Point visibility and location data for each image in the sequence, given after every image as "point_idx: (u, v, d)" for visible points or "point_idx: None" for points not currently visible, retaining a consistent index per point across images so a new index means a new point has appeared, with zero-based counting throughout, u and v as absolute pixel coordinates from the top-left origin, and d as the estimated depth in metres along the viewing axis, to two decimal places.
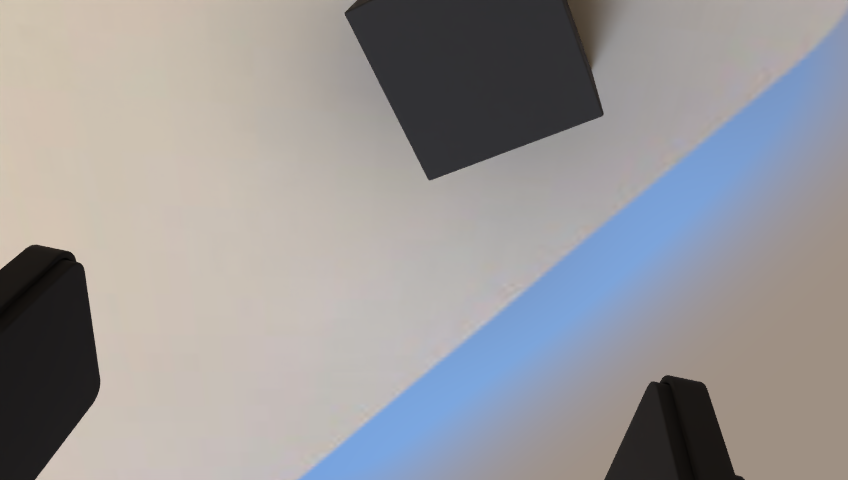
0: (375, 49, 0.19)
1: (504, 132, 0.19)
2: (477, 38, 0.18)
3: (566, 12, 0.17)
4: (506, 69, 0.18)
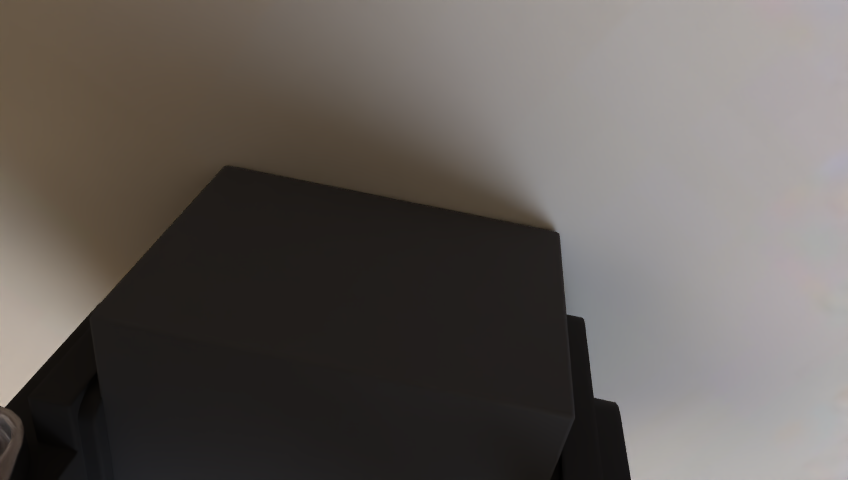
0: None
1: None
2: None
3: (300, 358, 0.07)
4: None
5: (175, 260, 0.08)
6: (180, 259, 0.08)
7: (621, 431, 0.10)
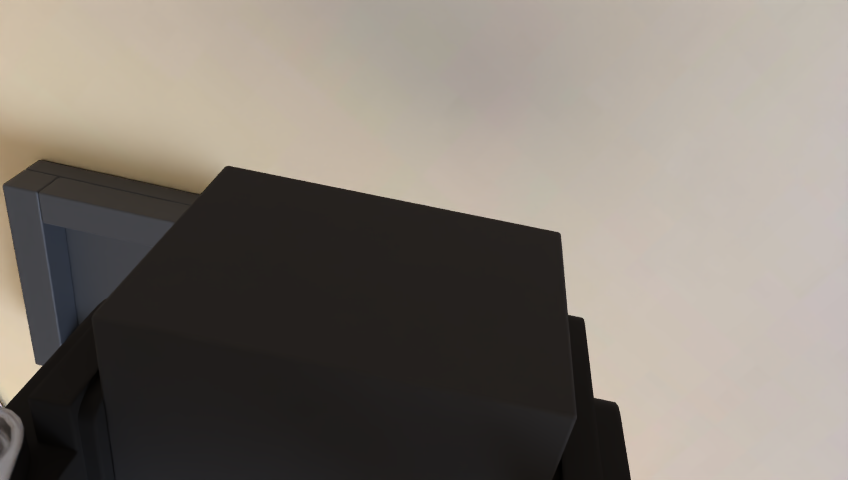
0: None
1: None
2: None
3: (302, 358, 0.07)
4: None
5: (177, 260, 0.08)
6: (182, 260, 0.08)
7: (620, 431, 0.10)
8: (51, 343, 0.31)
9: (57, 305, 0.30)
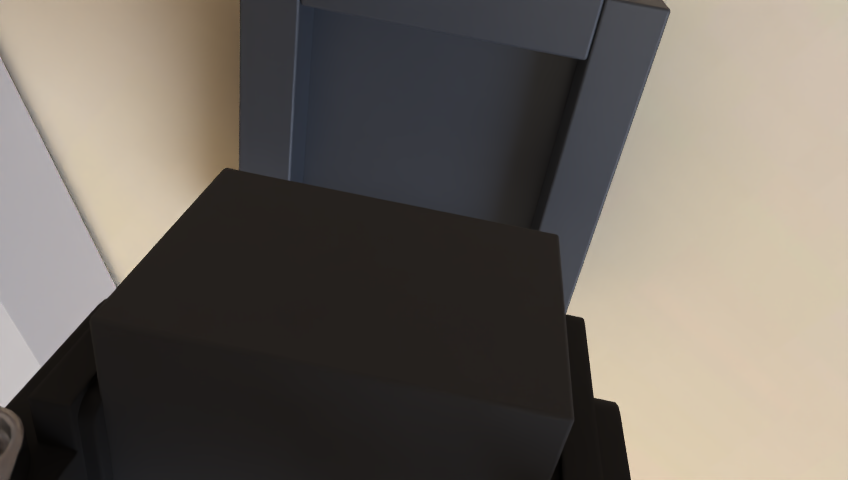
0: None
1: None
2: None
3: (299, 361, 0.07)
4: None
5: (175, 263, 0.08)
6: (180, 262, 0.08)
7: (620, 431, 0.10)
8: None
9: (292, 170, 0.19)
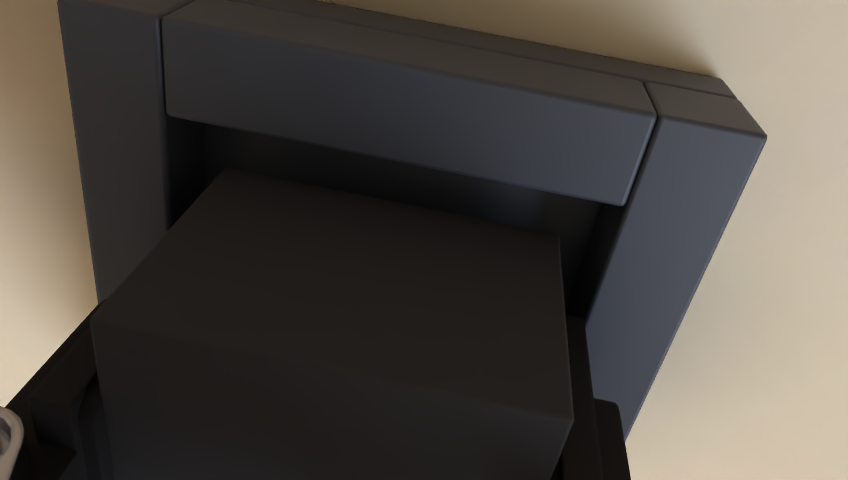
0: None
1: None
2: None
3: (300, 361, 0.07)
4: None
5: (175, 263, 0.08)
6: (180, 262, 0.08)
7: (620, 431, 0.10)
8: None
9: None
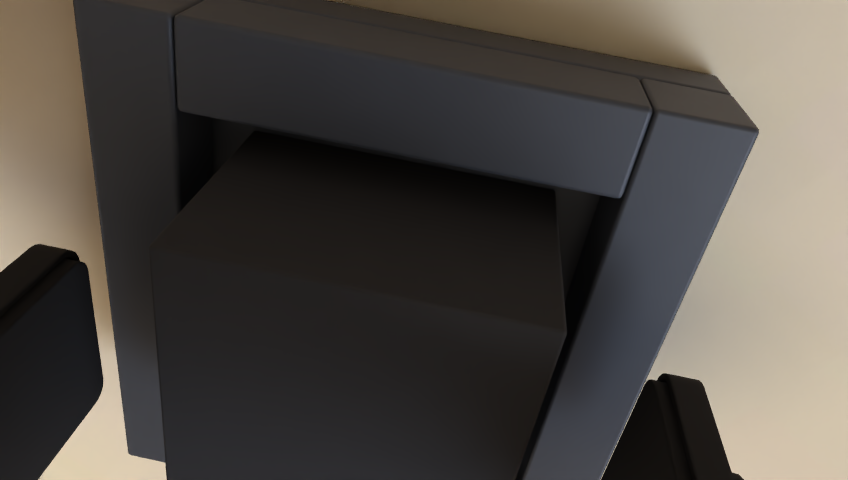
0: None
1: (477, 465, 0.10)
2: (295, 411, 0.10)
3: (330, 282, 0.09)
4: (371, 406, 0.10)
5: (218, 205, 0.10)
6: (222, 205, 0.10)
7: None
8: None
9: None
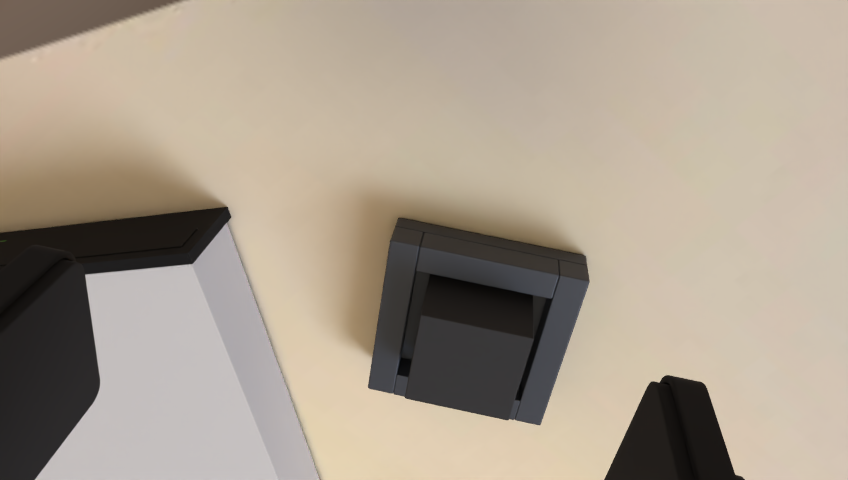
0: (428, 398, 0.34)
1: (508, 379, 0.33)
2: (454, 362, 0.33)
3: (470, 325, 0.32)
4: (477, 360, 0.33)
5: (432, 301, 0.33)
6: (433, 301, 0.33)
7: None
8: (388, 370, 0.37)
9: (403, 338, 0.36)
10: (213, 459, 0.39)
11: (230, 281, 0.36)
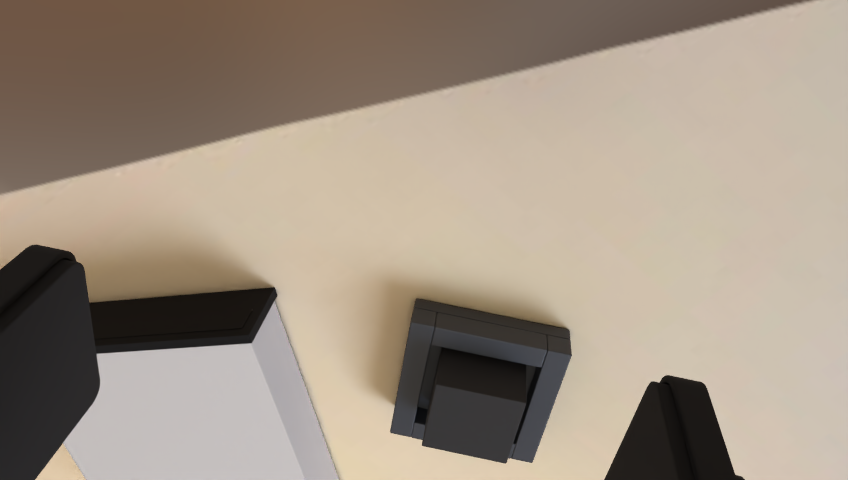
0: (441, 446, 0.42)
1: (506, 432, 0.41)
2: (462, 419, 0.41)
3: (475, 392, 0.40)
4: (481, 418, 0.41)
5: (445, 371, 0.41)
6: (445, 371, 0.41)
7: None
8: (407, 419, 0.45)
9: (419, 394, 0.44)
10: None
11: (277, 348, 0.44)
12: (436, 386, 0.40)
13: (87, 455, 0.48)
